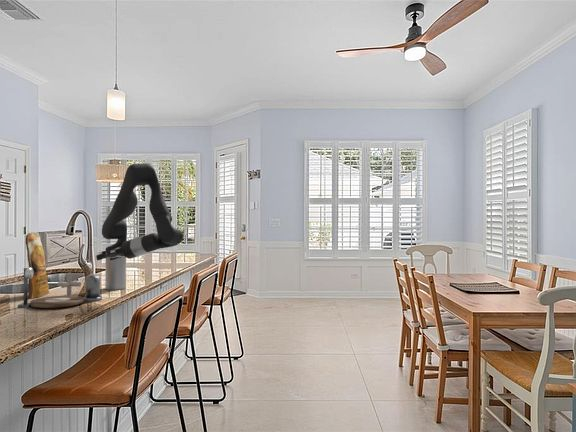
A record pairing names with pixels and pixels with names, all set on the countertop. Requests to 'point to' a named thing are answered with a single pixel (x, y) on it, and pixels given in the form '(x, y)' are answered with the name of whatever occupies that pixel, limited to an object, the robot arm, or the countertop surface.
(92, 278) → the grey canister
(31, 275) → the dial stand
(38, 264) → the pancake mix bag
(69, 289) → the pipe connector
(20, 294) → the countertop surface
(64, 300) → the disc
